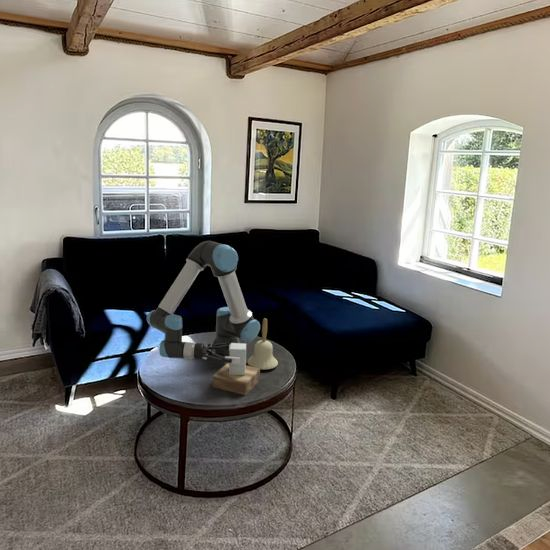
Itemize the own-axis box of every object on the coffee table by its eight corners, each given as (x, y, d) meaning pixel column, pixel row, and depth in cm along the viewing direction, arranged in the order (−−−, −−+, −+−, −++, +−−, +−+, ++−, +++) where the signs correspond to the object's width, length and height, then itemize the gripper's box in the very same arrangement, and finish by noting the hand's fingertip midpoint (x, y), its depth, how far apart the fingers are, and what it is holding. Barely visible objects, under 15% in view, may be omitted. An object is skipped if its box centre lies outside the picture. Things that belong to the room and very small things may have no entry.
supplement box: (245, 368, 228) (246, 343, 225) (244, 375, 221) (246, 349, 218) (229, 367, 228) (230, 342, 225) (228, 375, 220) (229, 348, 217)
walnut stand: (228, 373, 236) (229, 361, 234) (259, 380, 230) (260, 368, 229) (212, 387, 221) (213, 375, 220) (245, 395, 216) (246, 382, 214)
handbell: (264, 375, 236) (267, 326, 230) (240, 365, 245) (243, 318, 239) (283, 365, 248) (287, 318, 242) (260, 356, 257) (263, 311, 251)
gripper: (199, 348, 236) (243, 351, 235) (188, 370, 211) (237, 374, 211) (200, 333, 234) (244, 336, 233) (188, 354, 210) (238, 358, 209)
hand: (241, 354), depth 222 cm, fingers open, 13 cm apart
